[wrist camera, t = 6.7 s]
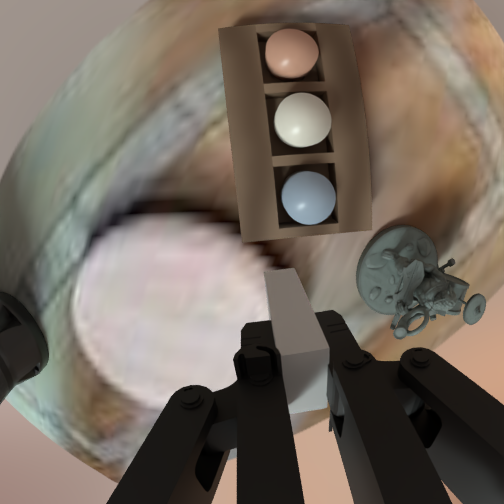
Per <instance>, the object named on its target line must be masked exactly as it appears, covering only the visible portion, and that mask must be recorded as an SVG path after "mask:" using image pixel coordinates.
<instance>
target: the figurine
mask: <svg viewBox="0 0 504 504" xmlns="http://www.w3.org/2000/svg"><path fill="white" fill-rule="evenodd" d="M454 264H455V260H454V259H453V258H452V259H450V260H448V263H447V264H445V265H443V266H442V267H440V268H439V267H438V257H437V252H436V248H435V246H434V244H433V242H432V240H431V239H430V238H429V236H428V235H427V234H426V233H424V232H423V231H421V230H419V229H417V228H415V227H412V226H408V225H397V226H393V227H390V228H387V229H385V230H383V231H382V232H380V233H379V234H378V235H376V236H375V237H374V238H373V239H372V240H371V241H370V242H369V243H368V245H367V246H366V248H365V249H364V251H363V253H362V255H361V257H360V259H359V262H358V266H357V272H356V282H357V288H358V291H359V293H360V295H361V297H362V299H363V300H364V301H365V303H366V304H367V305H368V306H369V307H370V308H371V309H372V310H374V311H376V312H378V313H381V314H386V315H394V314H395V316H394V319H393V321H392V324H391V327H390V328H391V329H392V330H394V329H395V330H394V333H393V335H394V337H395V338H396V339H403V338H405V337H406V335H407V336H413V335H416V334H418V333H419V332H421V331H422V330H423V329H424V328H425V327H426V325H427V323H428V321H429V316H430V320H431V321H433V320H436V314H440V315H442V316H445V314H449V315H459V314H460V312H461V306H462V303H463V304H465V307H464V311H463V319H464V321H465V322H466V323H467V324H469V325H473V324H475V323H476V322H478V321H479V320H480V318H481V317H482V315H483V313H484V311H485V307H486V300H485V297H484V296H483V295H481V294H474V295H473V296H472V297H471V298H470V299H469V300H468V301H467V303H466V302H465V301H463V300H464V297H465V294H466V291H467V289H468V288H469V284H468V283H467V282H465V281H463V280H461V279H459V278H457V277H454V276H452V275H449V274H446V273H444V272H445V270H444V268H446V267H448V266H450V267H451V266H453V265H454ZM418 303H419V304H420V305H418V306H416V307H415V308H413V307H414V306H415V305H417V304H418ZM400 315H403V317H402V318H401V319H400V320H399V318H400ZM422 316H425V317H424V321H423V322H422V324H421V325H420V326H419V327H418V328H416V329H415V330H412V331H409V330H408V327H409V326H410V324H411V323H412V322H413V321H414V320H416V319H419V318H421V317H422ZM410 317H411V318H410ZM409 318H410V319H409ZM398 320H399V322H398ZM397 322H398V325H397ZM396 325H397V327H396ZM395 327H396V328H395Z"/></svg>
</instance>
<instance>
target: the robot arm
mask: <svg viewBox="0 0 504 504" xmlns="http://www.w3.org/2000/svg"><path fill="white" fill-rule="evenodd" d="M264 279H265V287H266V296H267V304H268V313H269V320H267V321H259V322H251V323H246V324H245V326H244V327H243V329H242V330H241V349H240V350H239V351H238V352H237V353H236V354H235V356H234V358H233V361H234V366H235V371H236V375H237V380H236V381H235V382H234V383H233V384H232V385H230V386H229V387H227V388H224V389H221V390H218V391H215V392H212V391H211V390H210V389H208V388H207V387H204V386H201V385H190V386H186V387H183V388H181V389H179V390H178V391H176V392H175V393H174V394H173V395H172V396H171V398H170V399H169V401H168V403H167V404H166V406H165V408H164V409H163V411H162V413H161V414H160V416H159V418H158V419H157V421H156V423H155V424H154V426H153V428H152V429H151V431H150V433H149V434H148V436H147V437H146V439H145V441H144V442H143V444H142V446H141V447H140V449H139V451H138V452H137V454H136V456H135V457H134V459H133V461H132V462H131V464H130V466H129V467H128V469H127V470H126V472H125V474H124V475H123V477H122V479H121V480H120V482H119V484H118V485H117V487H116V489H115V490H114V492H113V493H112V495H111V497H110V498H109V500H108V502H107V503H106V504H211V503H212V500H213V498H214V495H215V492H216V490H217V487H218V484H219V481H220V479H221V476H222V473H223V470H224V467H225V465H226V462H227V459H228V456H229V453H230V449H234V448H237V504H305V503H304V497H303V491H302V485H301V479H300V473H299V467H298V461H297V455H296V449H295V443H294V437H293V431H292V426H291V420H290V414H294V413H300V412H306V411H312V410H317V409H323V408H327V399H328V402H329V405H330V420H329V432H330V431H332V427H333V431H334V434H335V437H336V440H337V444H338V448H339V451H340V455H341V458H342V462H343V465H344V469H345V472H346V476H347V479H348V483H349V486H350V490H351V494H352V497H353V501H354V504H452V502H451V500H450V498H449V496H448V493H447V491H446V489H445V487H444V485H443V483H442V481H443V482H444V484H445V485H446V486H447V487H448V488H449V489H450V490H451V491H452V493H454V495H455V496H456V497H457V498H458V499H459V500H460V501H461V502H462V503H463V504H504V405H503V404H502V403H500V402H499V401H498V400H497V399H495V398H494V397H493V396H491V395H490V394H489V393H487V392H486V391H485V390H484V389H482V388H481V387H480V386H479V385H477V384H476V383H475V382H473V381H472V380H471V379H469V378H468V377H467V376H465V375H464V374H463V373H462V372H460V371H459V370H458V369H456V368H455V367H454V366H452V365H451V364H450V363H448V362H447V361H446V360H444V359H443V358H442V357H440V356H439V355H438V354H436V353H435V352H433V351H431V350H429V349H426V348H421V347H419V348H412V349H409V350H407V351H405V352H404V353H403V354H402V356H401V358H400V361H378V360H376V359H375V358H374V357H373V356H372V354H371V353H369V352H367V351H364V350H361V349H360V347H359V345H358V343H357V342H356V340H355V338H354V336H353V335H352V333H351V331H350V330H349V328H348V326H347V324H345V321H344V319H343V318H342V316H341V315H340V314H338V313H337V312H335V311H334V310H329V311H323V312H317V313H314V311H313V309H312V306H311V304H310V302H309V300H308V298H307V295H306V293H305V291H304V289H303V286H302V284H301V282H300V280H299V278H298V275H297V273H296V271H295V269H294V268H290V269H282V270H275V271H267V272H264ZM47 362H48V350H47V346H46V343H45V340H44V337H43V335H42V333H41V331H40V329H39V327H38V325H37V324H36V322H35V321H34V319H33V318H32V316H31V315H30V314H29V312H28V311H27V310H26V309H25V308H24V306H23V305H22V304H21V303H20V302H18V301H17V300H16V299H15V298H13V297H12V296H10V295H9V294H6V293H3V292H0V404H1V403H2V401H3V400H4V399H5V398H6V396H7V395H8V394H9V392H10V391H11V390H12V389H13V388H14V387H15V386H16V385H18V384H20V383H22V382H24V381H26V380H28V379H30V378H32V377H34V376H36V375H38V374H39V373H40V372H41V371H42V370H43V369H44V367H45V366H46V365H47ZM441 480H442V481H441Z"/></svg>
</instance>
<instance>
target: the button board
mask: <svg viewBox="0 0 504 504" xmlns="http://www.w3.org/2000/svg"><path fill="white" fill-rule="evenodd" d="M283 29H297V30H300V31H303V32H305V33H307V34H308V35H309V36H311V37H312V38H313V40H314V41H315V42H316V44H317V46H318V52H319V54H318V59H317V61H316V63H315V64H314V66H313V67H312V69H311V70H310V72H309V73H308V74H307V75H306V76H305V77H304V78H302V79H300V80H297V81H284V80H281V79H278V78H276V77H275V76H273V75H272V74H271V73H270V72H269V71H268V69H267V67H266V65H265V52H266V44H267V41H268V39H269V38H270V36H271V35H273V34H274V33H275V32H277V31H279V30H283ZM218 31H219V41H220V50H221V59H222V69H223V78H224V87H225V96H226V106H227V115H228V123H229V132H230V141H231V150H232V159H233V167H234V176H235V184H236V193H237V201H238V210H239V218H240V227H241V235H242V243H243V242H253V241H263V240H273V239H283V238H293V237H303V236H314V235H324V234H335V233H346V232H356V231H367V230H372V196H371V174H370V159H369V147H368V136H367V127H366V118H365V110H364V103H363V96H362V89H361V83H360V77H359V71H358V66H357V61H356V56H355V51H354V46H353V41H352V37H351V33H350V28H349V25H341V24H326V23H270V24H255V25H244V26H234V27H226V28H219V29H218ZM295 93H309V94H312V95H314V96H316V97H318V98H319V99H321V100H322V101H323V102H324V103H325V104H326V106H327V107H328V109H329V111H330V114H331V128H330V131H329V133H328V135H327V136H326V137H325V138H324V139H323V140H322V141H321V142H319V143H317V144H314V145H311V146H307V147H303V148H297V147H292V146H289V145H287V144H285V143H284V142H283V141H281V140H280V138H279V137H278V136H277V134H276V132H275V129H274V123H273V122H274V116H275V113H276V111H277V109H278V107H279V105H280V103H281V102H282V101H283V100H284V99H285V98H286V97H288V96H290V95H292V94H295ZM297 171H310V172H316V173H319V174H321V175H323V176H324V177H326V178H327V179H328V180H329V181H330V182H331V184H332V186H333V188H334V190H335V196H336V201H335V206H334V208H333V211H332V212H331V214H330V215H329V216H328V217H327V218H326V219H325V220H323V221H322V222H319V223H317V224H312V225H308V224H302V223H299V222H297V221H295V220H294V219H293V218H292V217H291V216H290V215H289V214H288V212H287V211H286V209H285V208H284V206H283V204H282V202H281V198H280V190H281V187H282V184H283V182H284V181H285V179H286V178H287V177H288V176H289V175H291V174H292V173H295V172H297Z"/></svg>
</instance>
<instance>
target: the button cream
mask: <svg viewBox="0 0 504 504" xmlns="http://www.w3.org/2000/svg"><path fill="white" fill-rule="evenodd" d="M273 123H274V129H275V132H276V134H277V136H278V137H279V138H280V140H281V141H283V142H284V143H285V144H287V145H289V146H292V147H297V148H303V147H307V146H311V145H314V144H317V143H319V142H321V141H322V140H323V139H324V138H325V137H326V136H327V135H328V133H329V131H330V128H331V114H330V111H329V109H328V107H327V106H326V104H325V103H324V102H323V101H322V100H321V99H319V98H318V97H316V96H314V95H312V94H309V93H295V94H292V95H290V96H288V97H286V98H285V99H284V100H283V101H282V102H281V103H280V105H279V107H278V109H277V111H276V113H275V116H274V122H273Z"/></svg>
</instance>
